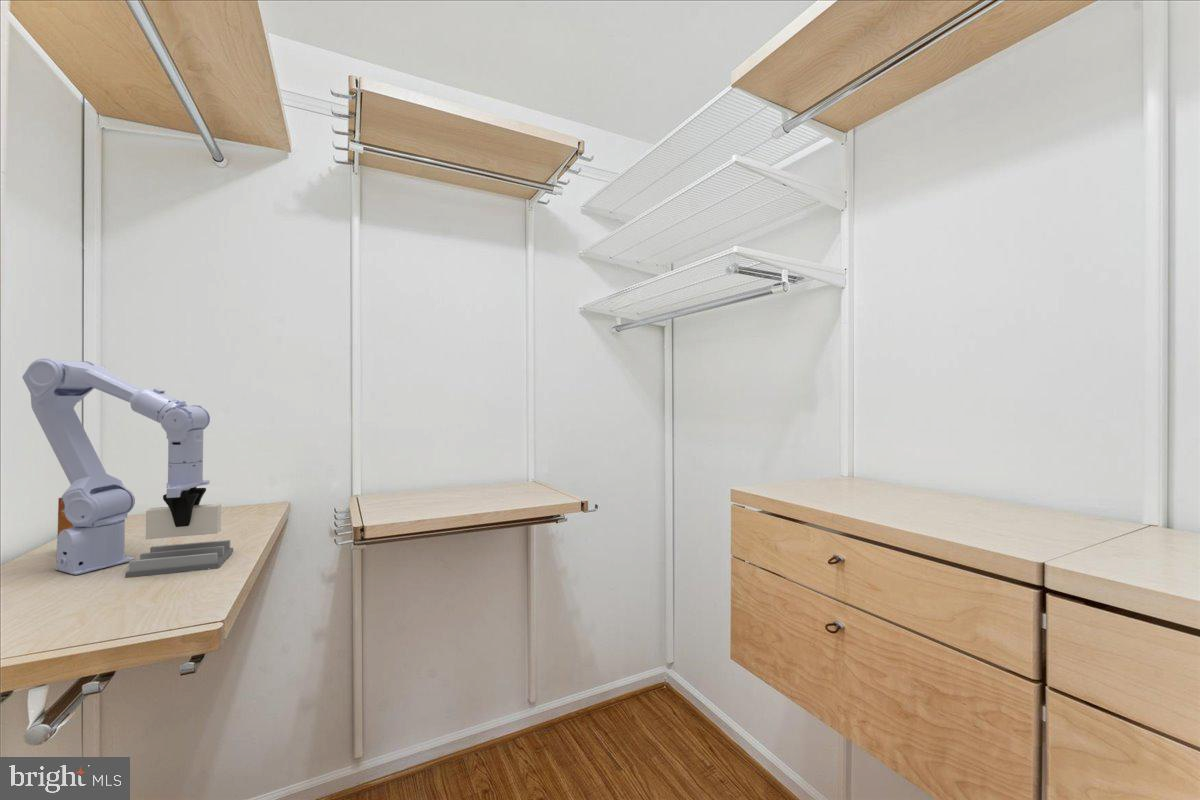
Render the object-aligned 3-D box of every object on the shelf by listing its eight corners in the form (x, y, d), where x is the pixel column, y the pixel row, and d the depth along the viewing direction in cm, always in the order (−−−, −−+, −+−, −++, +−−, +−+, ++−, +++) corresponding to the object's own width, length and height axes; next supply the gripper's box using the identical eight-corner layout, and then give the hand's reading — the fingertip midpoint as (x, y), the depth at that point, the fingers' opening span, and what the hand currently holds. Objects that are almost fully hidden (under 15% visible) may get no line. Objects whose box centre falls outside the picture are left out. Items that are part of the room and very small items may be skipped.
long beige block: (145, 539, 100) (146, 510, 100) (151, 535, 102) (151, 507, 102) (217, 533, 105) (217, 506, 105) (220, 530, 107) (221, 503, 107)
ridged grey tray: (125, 577, 95) (125, 562, 95) (149, 559, 105) (149, 546, 105) (218, 568, 101) (218, 553, 101) (233, 551, 111) (233, 539, 111)
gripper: (197, 465, 99) (197, 531, 99) (218, 456, 112) (217, 514, 112) (153, 467, 96) (152, 535, 96) (180, 457, 109) (179, 517, 109)
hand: (185, 524), depth 104 cm, fingers closed on long beige block, 3 cm apart
